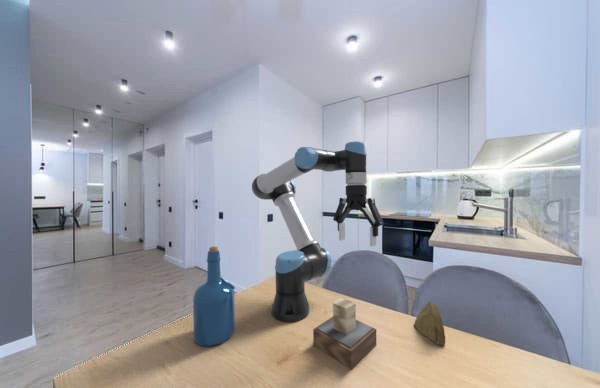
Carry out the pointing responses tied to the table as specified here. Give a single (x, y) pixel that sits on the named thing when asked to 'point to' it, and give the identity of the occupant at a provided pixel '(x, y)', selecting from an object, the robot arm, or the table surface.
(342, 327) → the beech block
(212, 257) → the wine bottle
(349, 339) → the walnut plinth
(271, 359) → the table surface
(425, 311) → the rock
